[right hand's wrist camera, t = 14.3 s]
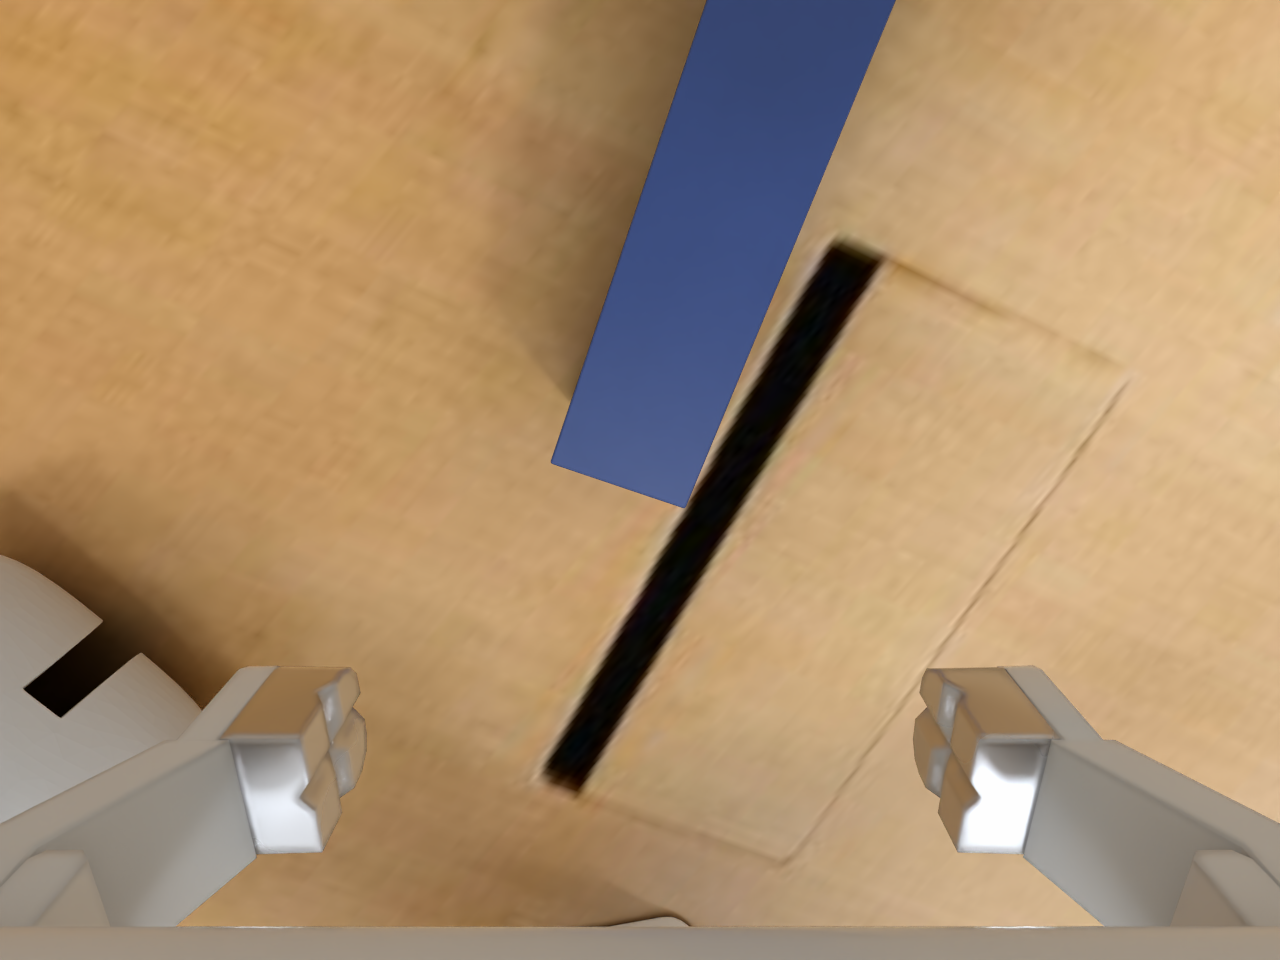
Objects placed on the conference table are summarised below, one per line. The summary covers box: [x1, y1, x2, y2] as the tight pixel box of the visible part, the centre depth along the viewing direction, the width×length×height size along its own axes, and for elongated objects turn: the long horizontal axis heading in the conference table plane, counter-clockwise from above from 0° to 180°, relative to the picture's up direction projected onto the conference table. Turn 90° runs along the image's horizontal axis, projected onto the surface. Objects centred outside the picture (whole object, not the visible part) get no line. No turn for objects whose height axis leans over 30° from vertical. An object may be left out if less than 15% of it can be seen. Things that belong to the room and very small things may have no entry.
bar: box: [551, 0, 896, 508], centre depth 26 cm, size 27×5×8 cm, turn 160°
